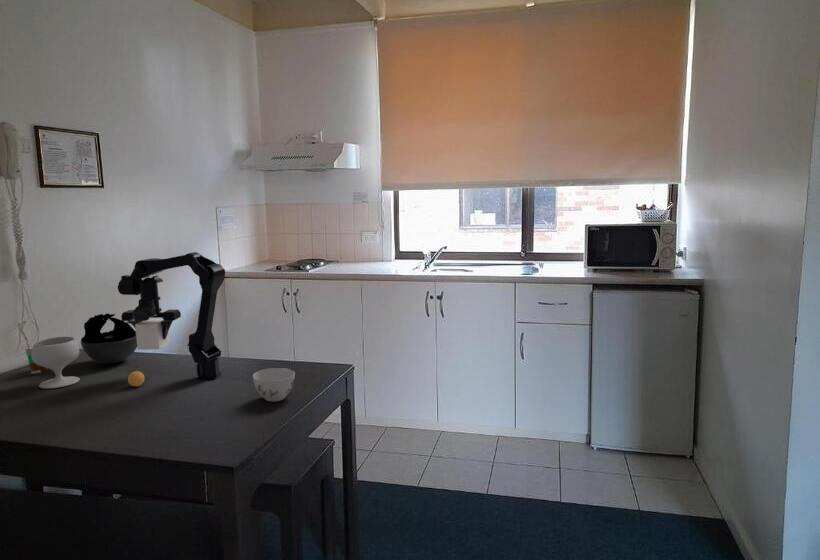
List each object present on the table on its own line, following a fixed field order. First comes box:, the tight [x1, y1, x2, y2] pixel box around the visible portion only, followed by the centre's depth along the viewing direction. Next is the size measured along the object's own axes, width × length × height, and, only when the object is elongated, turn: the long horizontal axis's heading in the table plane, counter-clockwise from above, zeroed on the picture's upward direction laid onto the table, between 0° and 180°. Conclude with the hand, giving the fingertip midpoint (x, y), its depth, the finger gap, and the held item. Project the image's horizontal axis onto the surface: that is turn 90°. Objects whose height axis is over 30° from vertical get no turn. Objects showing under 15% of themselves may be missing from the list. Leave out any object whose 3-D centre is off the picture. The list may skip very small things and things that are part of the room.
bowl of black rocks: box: [80, 313, 137, 365], centre depth 224 cm, size 20×20×19 cm
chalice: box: [31, 336, 81, 389], centre depth 201 cm, size 14×14×15 cm
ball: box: [127, 370, 145, 388], centre depth 196 cm, size 5×5×5 cm
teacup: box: [252, 367, 296, 402], centre depth 182 cm, size 15×12×8 cm
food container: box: [25, 348, 54, 376], centre depth 216 cm, size 12×6×10 cm, turn 179°
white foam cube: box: [134, 318, 171, 350], centre depth 207 cm, size 8×8×9 cm
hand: (153, 339), depth 207 cm, fingers closed on white foam cube, 8 cm apart
